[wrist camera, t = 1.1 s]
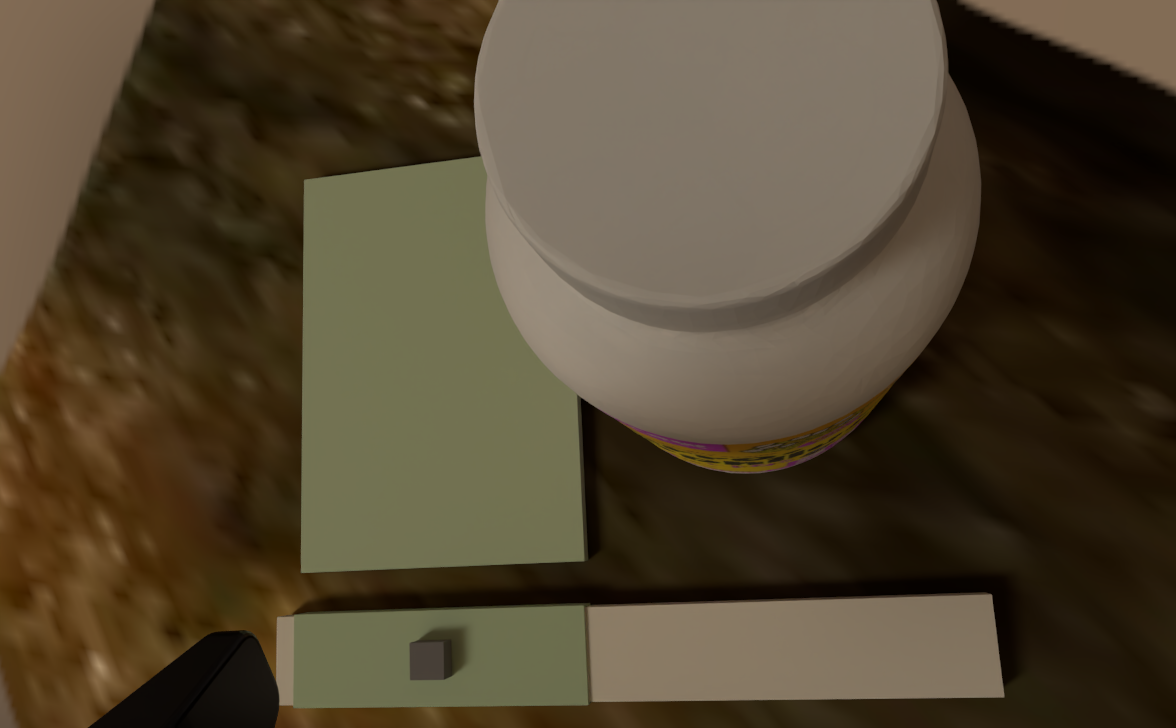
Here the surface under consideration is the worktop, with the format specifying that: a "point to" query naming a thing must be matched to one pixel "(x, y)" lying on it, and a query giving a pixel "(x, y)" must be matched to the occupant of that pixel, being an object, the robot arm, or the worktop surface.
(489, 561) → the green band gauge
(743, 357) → the supplement bottle
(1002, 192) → the worktop surface
